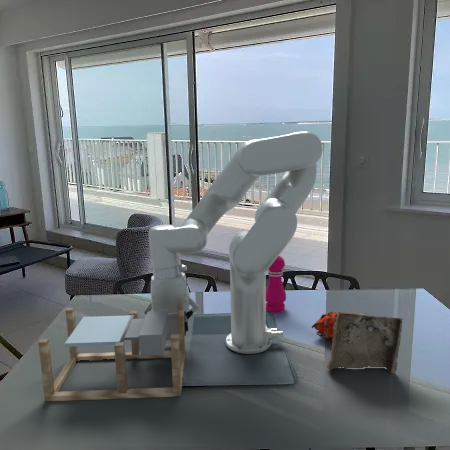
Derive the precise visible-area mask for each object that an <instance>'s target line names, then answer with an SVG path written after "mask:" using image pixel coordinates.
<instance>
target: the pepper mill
mask: <svg viewBox="0 0 450 450" xmlns="http://www.w3.org/2000/svg"><path fill="white" fill-rule="evenodd" d="M285 265H286V263H285V259H284V257H282V256H281V255H279V256H278V257H277V259H276V260H275V261H274V262H273V264H272V265H271V266H270V267H269V268H268V270H267V276H268V284H267V285H266V312H268V313H271V314H278V313H283V312H285V309H286V308H285V307H286V305H285V302H286V300H287V294H286V290H285V287H284V285H283V281H282V279H283V278H282V276H283V275H284V270H283V269H284V268H285Z"/></svg>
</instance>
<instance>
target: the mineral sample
mask: <svg viewBox="0 0 450 450" xmlns="http://www.w3.org/2000/svg"><path fill="white" fill-rule="evenodd" d="M338 314H339V313H338ZM403 319H404V318H401V317H400V318H399V317H388V316H375V315H370V313H369V314H368V313H364V312H357V311H349V310H348V311H341V313H340V314H339V315H338V316H337V318H336V323H335V326H334V333H333V342H332V343H331V352H330V356H329V359H328V362H327V364H326V368H327V369H328V370H329V374H330V375H332V370H333V369H338V368H337V367H341V368H342V367H344V368H363V367H368V366H370V367H386V368H387V369H388V370H389V371H388V370H387V371H388V373H390V374H393V375H396V371H398V368H397V367H398V364H399V363H398V359H399V350H400V346H401V335H402V334H401V333H402V328H403Z"/></svg>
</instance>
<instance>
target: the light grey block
mask: <svg viewBox="0 0 450 450" xmlns="http://www.w3.org/2000/svg"><path fill="white" fill-rule="evenodd" d="M168 328H169V330H168V334H167V339H166V342H167V341H171V334H178V325H177V313H168Z"/></svg>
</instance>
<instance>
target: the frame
mask: <svg viewBox="0 0 450 450" xmlns="http://www.w3.org/2000/svg"><path fill="white" fill-rule="evenodd" d="M132 314H133V315H134V316H135V317H134V319H139V314H138V310H130V311H129V314H128V315H132ZM65 316H66V317H65V319H66V328H67V339H68V338H69V337H70V335H71V334H72V332H73V331H74V330H75V328H76V327H77V325H76V316H75V308H74V307H67V308H66V309H65ZM177 325H178V334H171V340H170V350H164V353H163V355H154V356H140V341H139V340H130V345H131V351H126V350H125V349H126V348H125V341H124V342H116V343H115V345H113V347H114V350H113V351H114V352H110V351H109V352H90V353H89V352H87V353H85V352H84V353H83V352H82V353H81V352H80V353H79V346H73V347H68V350H69V358H68V360H67V361H66V362H65V365H64V366H63V367H62V369H61V370H60V371H59V374H58V375H57V376H56V377H55V379H54V374H53V365H52V355H51V346H50V339H49V338H41V339H39V341H38V350H39V352H38V353H39V359H40V368H41V378H42V385H43V392H44V393H43V394H44V401H45V402H62V401H63V402H67V401H69V402H70V401H89V400H112V399H113V400H117V399H118V400H119V399H138V398H139V399H140V398H141V399H143V398H145V399H147V398H165V397H166V398H169V397H172V398H174V397H181V396H182V390H183V389H182V387H183V380H182V378H183V379H184V371H183V369H184V370H185V362H184V361H186V360H185V359H186V336H185V331H184V307H183V304H177ZM135 358H137V359H135ZM167 358H169V359H170V358H171V374H172V378H171V379H172V386H171V387H149V388H147V387H146V388H128V376H127V364H126V363H127V361H126V360H138V359H167ZM103 359H108V360H107V361H110V360H109V359H115V360H114V362H115V375H116V386H117V387H116V388H117V389H100V390H99V389H98V390H97V389H96V390H73V391H71V390H69V391H60V390H61V388H62V387H63V384H64V382H66V380H67V378H68V376H69V375H70V373H71V372H72V370H73V368H74V366H75V365H76V363H77V362H81V361H80V360H89V361H104V360H103ZM76 361H77V362H76Z"/></svg>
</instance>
